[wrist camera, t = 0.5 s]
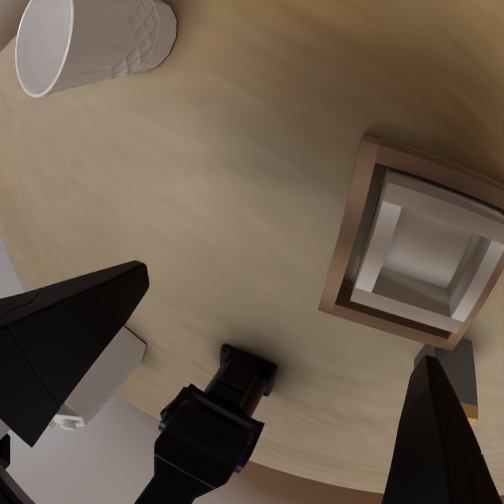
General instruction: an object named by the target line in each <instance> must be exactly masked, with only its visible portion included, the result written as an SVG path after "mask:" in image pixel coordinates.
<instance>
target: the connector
mask: <svg viewBox="0 0 504 504" xmlns="http://www.w3.org/2000/svg"><path fill="white" fill-rule="evenodd" d="M424 355H431V356H435V357H437V358H438V359H439V361H440V363H441V365H442V367H443V369H444V371H445V373H446V374H447V376H448V378H449V380H450V382H451V384H452V386H453V389H454V391H455V393H456V395H457V397H458V399H459V401H460V403H461V405H462V407H463V410H464V412H465V414H466V416H467V418H468V421H469V423H470V425H472V424H473V423H475V422H476V421H477V420H478V403H477V387H476V375H475V366H474V357H473V350H472V343H471V341H470V340H466V339H463V338H461V340H460V341H459V342H458V344H457V345H456V347H455V348H454V349H453V351H449V350H446V349H442V348H439V347H435V346H432V345H428V344H425V345H424V347H423V348H422V349H421V351H420V352H419V354H418V355H417V357H416V358H415V360H414V369H415V367H416V366H417V364H418V363H419V361H420V360H421V358H422V357H423V356H424Z"/></svg>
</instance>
